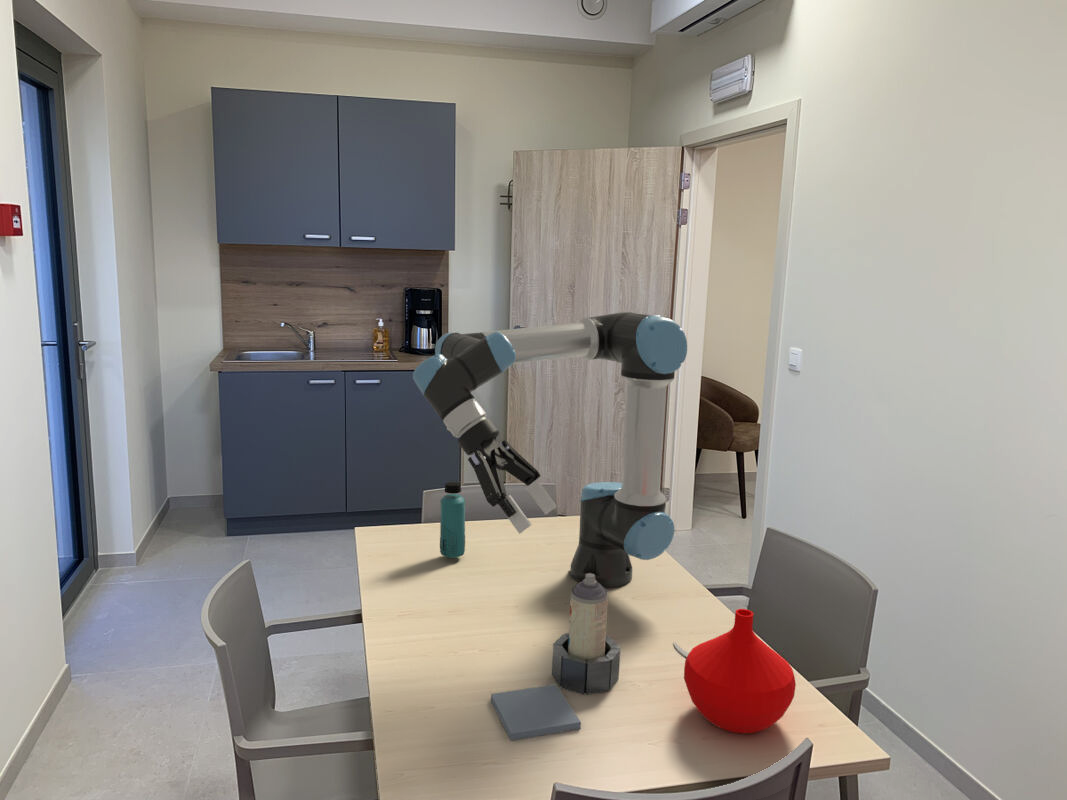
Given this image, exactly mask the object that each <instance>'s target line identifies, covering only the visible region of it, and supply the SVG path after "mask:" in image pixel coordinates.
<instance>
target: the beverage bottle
mask: <svg viewBox="0 0 1067 800" xmlns="http://www.w3.org/2000/svg"><path fill="white" fill-rule="evenodd" d="M444 484H445V485H444V492H445V493H447V494H445V495H444V496H443V497H442V498H440V517H439V520H440V521H439V522H440V526H439V527H440V529H439V530H440V532H439V534H440V535H439V552H440V555H442V556H443V557H445V558H458V557H459V558H460V557H462V556H464V555H465V551H466V549H465V548H466V522H465V521H466V519H465V515H466V499H465V497H463V496H462V495H461V494H459V493H462V485H461V483H460V482H458V481H448V482H446V483H444Z"/></svg>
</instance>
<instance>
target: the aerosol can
mask: <svg viewBox="0 0 1067 800" xmlns="http://www.w3.org/2000/svg"><path fill="white" fill-rule="evenodd" d="M608 600H609V596H608V590H607V589H606V587H602V586H601V584H599V583H598V582H597V581H596V580H595V575H594V574H592V573H588V574H586V576H585V579H584V580H583V581H581V582H578V584H576V585H574V586H573V587H572V588H571V592H570V600H569V619H568V620H569V621H568V622H569V625H568V633H569V640H568V654H569V655H573V656H576V657H580V658H584V659H592V658H599V657H605V640H606V636H607V635H606V633H607V618H608V605H609V604H608V602H609V601H608Z"/></svg>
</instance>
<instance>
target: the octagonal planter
mask: <svg viewBox="0 0 1067 800" xmlns="http://www.w3.org/2000/svg"><path fill="white" fill-rule="evenodd" d="M568 640H569V632H566V633H564V634H562V635H561V636H559V637H558V639H556V640H555V642H554V643H552V657H551V658H552V661H551V676H552V677H553V679H554V680H555V682H556V683H557V686H558V687H560V688H561V689H563V690H568V691H570V692H574V693H577V694H580V695H581V694H582V695H594V694H600V693H605V692H610V691H611V690H612V689H613V687H614V686H615V685H616V683H617V682H618V681H619V677H620V661H621V647H620V646H619V645H618V644H617V643H616V642H615V640H614V639H612V637H610V636H608V635H606V640H605V657H599V658H592V659H584V658H580V657H576V656H573V655H569V654H568Z"/></svg>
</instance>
